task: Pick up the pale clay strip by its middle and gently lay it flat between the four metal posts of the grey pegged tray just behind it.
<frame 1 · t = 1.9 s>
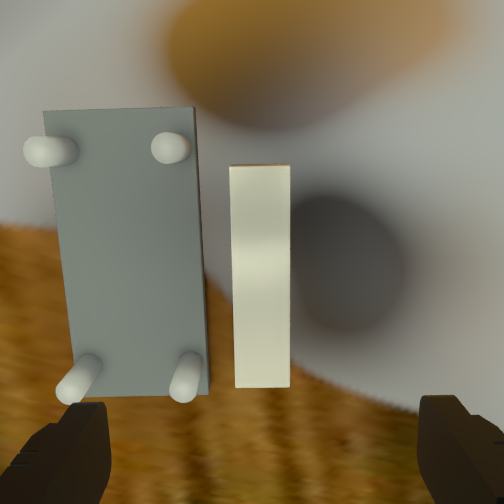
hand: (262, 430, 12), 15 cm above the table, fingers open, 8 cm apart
grey pegged tray: (136, 258, 26), on the table
clay strip: (260, 270, 27), on the table
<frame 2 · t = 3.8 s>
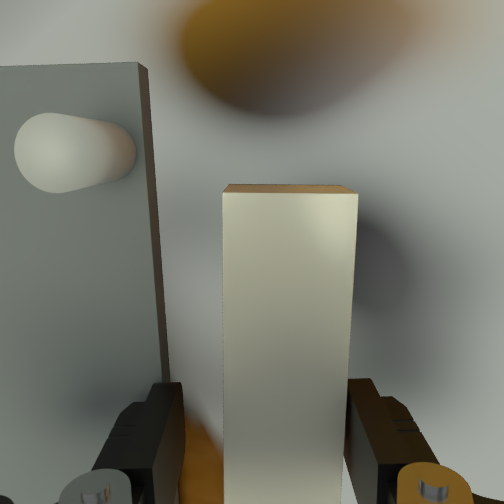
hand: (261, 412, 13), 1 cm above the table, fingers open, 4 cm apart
grey pegged tray: (38, 365, 14), on the table
clay strip: (279, 385, 14), on the table
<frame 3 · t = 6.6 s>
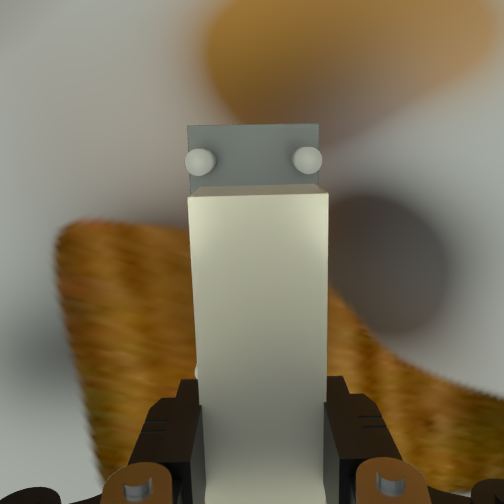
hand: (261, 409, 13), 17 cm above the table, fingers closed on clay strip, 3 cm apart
grey pegged tray: (255, 255, 30), on the table
clay strip: (261, 390, 14), point 16 cm above the table, touching gripper
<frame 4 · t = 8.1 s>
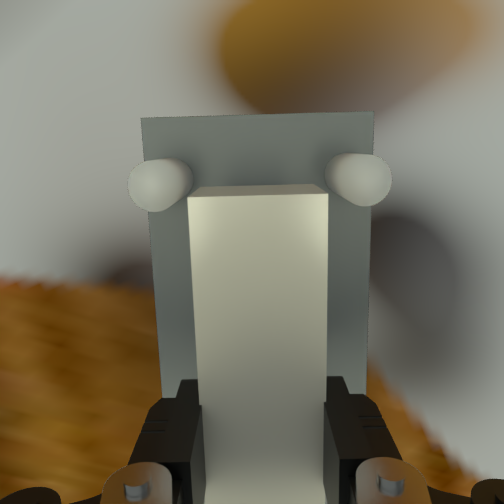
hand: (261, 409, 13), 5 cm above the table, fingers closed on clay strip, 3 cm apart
grey pegged tray: (262, 332, 18), on the table
clay strip: (261, 390, 14), point 4 cm above the table, touching gripper
when the fingers open (3 cm above the table, at t = 9.2 s): clay strip stays where it is, resting on grey pegged tray.
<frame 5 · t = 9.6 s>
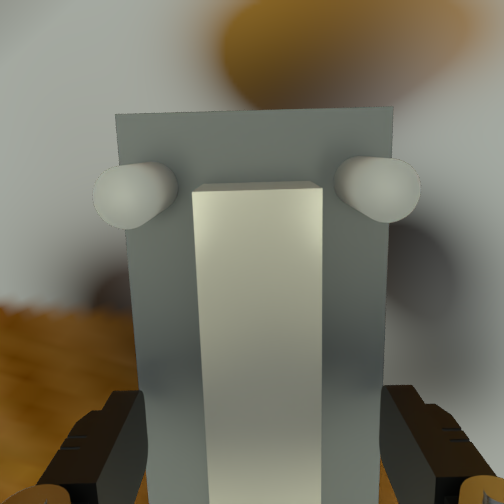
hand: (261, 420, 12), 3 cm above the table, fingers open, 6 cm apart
grey pegged tray: (260, 364, 15), on the table
clay strip: (261, 377, 14), point 1 cm above the table, touching grey pegged tray
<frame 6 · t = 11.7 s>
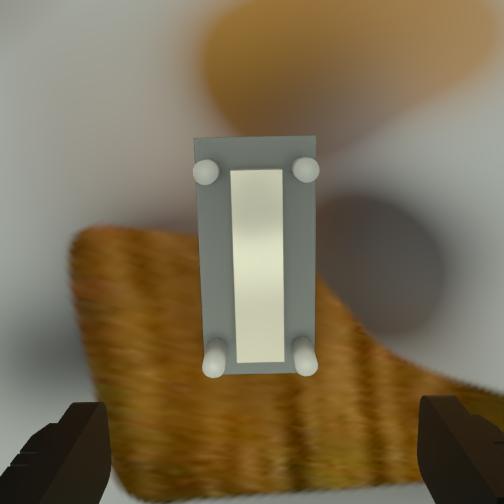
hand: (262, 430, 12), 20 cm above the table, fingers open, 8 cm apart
grey pegged tray: (257, 258, 32), on the table
clay strip: (258, 260, 31), point 1 cm above the table, touching grey pegged tray
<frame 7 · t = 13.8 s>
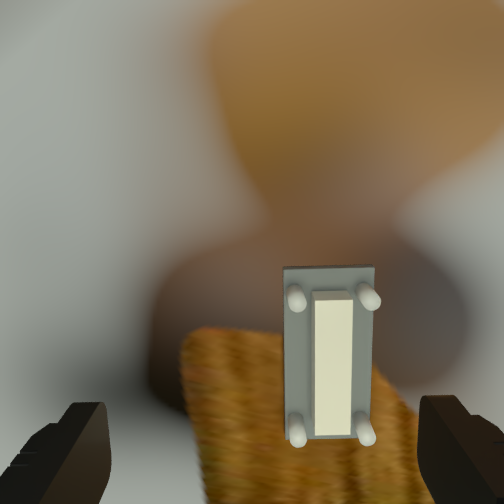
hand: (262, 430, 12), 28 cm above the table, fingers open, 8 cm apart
grey pegged tray: (326, 352, 42), on the table
clay strip: (328, 356, 41), point 1 cm above the table, touching grey pegged tray
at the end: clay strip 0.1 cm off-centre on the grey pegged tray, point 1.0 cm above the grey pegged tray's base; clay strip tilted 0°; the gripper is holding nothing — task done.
